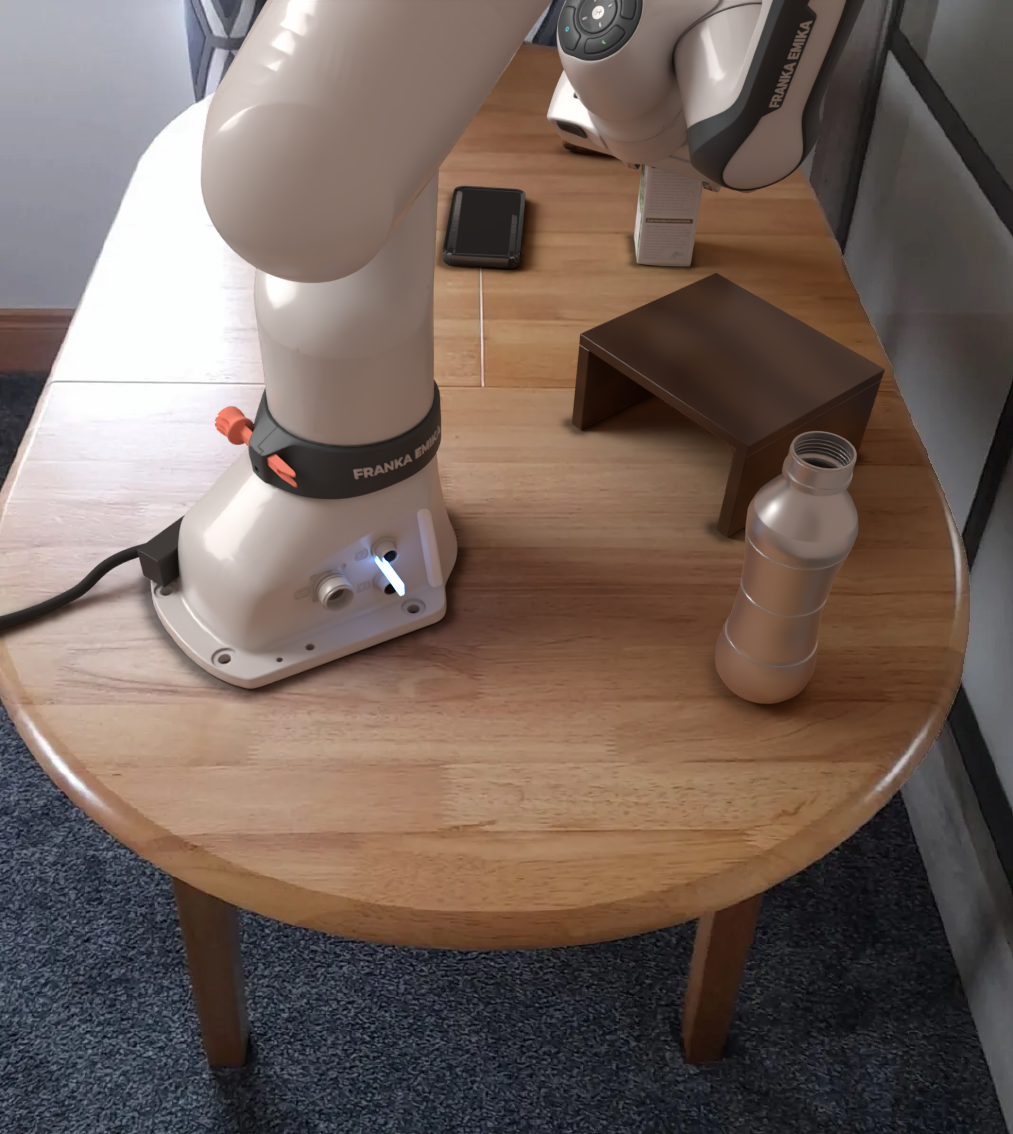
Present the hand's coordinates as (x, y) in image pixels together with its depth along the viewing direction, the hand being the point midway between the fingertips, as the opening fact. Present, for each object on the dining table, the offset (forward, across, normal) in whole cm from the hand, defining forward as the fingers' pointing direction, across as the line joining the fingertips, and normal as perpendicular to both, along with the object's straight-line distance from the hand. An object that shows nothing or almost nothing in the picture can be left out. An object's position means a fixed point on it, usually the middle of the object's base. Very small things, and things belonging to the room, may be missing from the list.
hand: (673, 172), depth 115 cm
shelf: (-13, -17, +25) cm, 33 cm away
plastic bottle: (-29, -30, +41) cm, 59 cm away
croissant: (+19, +14, -7) cm, 25 cm away
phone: (+1, +17, +11) cm, 20 cm away
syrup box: (+6, 0, +7) cm, 9 cm away
